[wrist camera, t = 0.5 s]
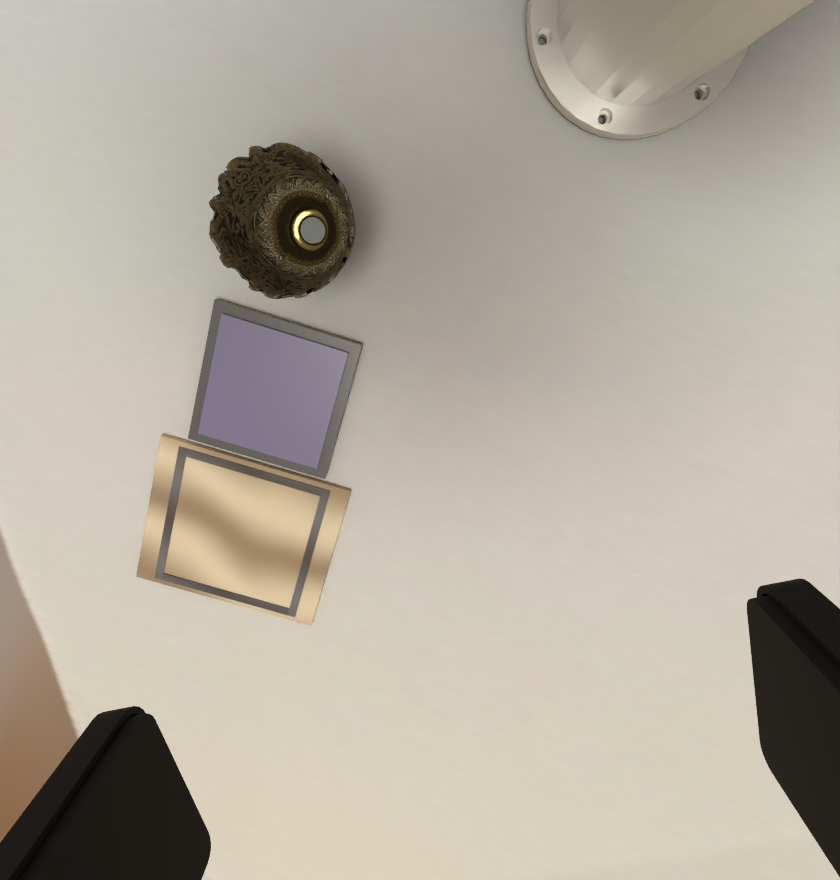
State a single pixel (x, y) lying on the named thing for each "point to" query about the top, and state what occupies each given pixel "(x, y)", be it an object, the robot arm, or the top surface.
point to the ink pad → (273, 388)
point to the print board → (240, 530)
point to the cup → (281, 220)
